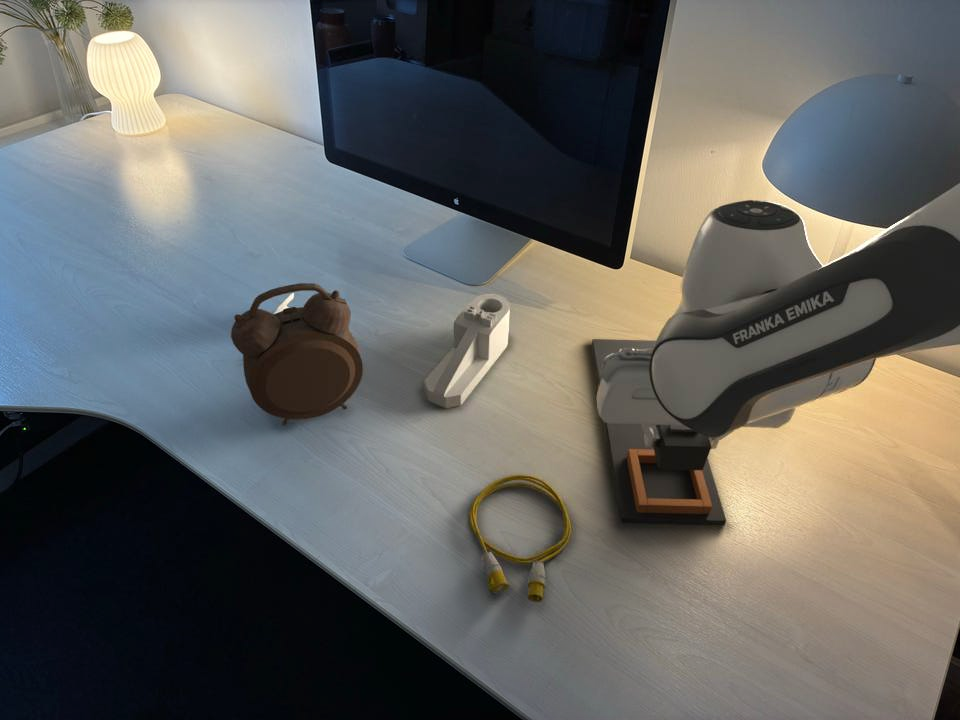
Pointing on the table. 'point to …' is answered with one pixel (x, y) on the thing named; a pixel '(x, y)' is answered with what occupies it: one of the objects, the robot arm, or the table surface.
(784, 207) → the robot arm
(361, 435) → the table surface
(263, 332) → the alarm clock
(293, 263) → the table surface
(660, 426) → the black block
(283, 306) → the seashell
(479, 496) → the extension cord
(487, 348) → the angled bracket with hole
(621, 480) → the base pad
